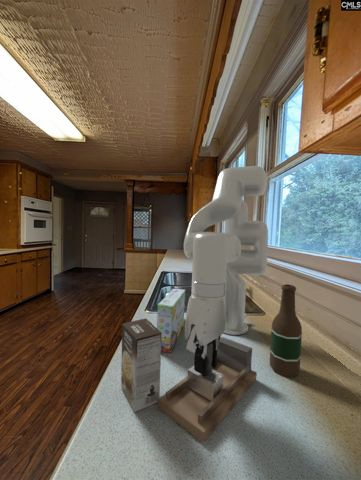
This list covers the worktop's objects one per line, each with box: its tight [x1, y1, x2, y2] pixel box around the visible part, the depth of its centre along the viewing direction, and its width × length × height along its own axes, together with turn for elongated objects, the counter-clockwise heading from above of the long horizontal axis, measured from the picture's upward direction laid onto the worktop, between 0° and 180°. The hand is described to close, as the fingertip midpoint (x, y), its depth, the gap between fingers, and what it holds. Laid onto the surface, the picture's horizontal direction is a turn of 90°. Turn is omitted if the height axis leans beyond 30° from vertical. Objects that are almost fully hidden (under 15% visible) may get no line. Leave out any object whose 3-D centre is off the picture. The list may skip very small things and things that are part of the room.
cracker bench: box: [157, 336, 257, 443], centre depth 55 cm, size 24×12×8 cm, turn 139°
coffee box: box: [120, 318, 162, 413], centre depth 53 cm, size 9×6×16 cm
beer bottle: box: [269, 283, 303, 378], centre depth 65 cm, size 8×8×24 cm
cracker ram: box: [187, 341, 223, 401], centre depth 52 cm, size 4×7×11 cm, turn 49°
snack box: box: [156, 288, 186, 354], centre depth 82 cm, size 21×6×15 cm, turn 168°
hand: (205, 368), depth 52 cm, fingers closed on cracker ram, 3 cm apart
